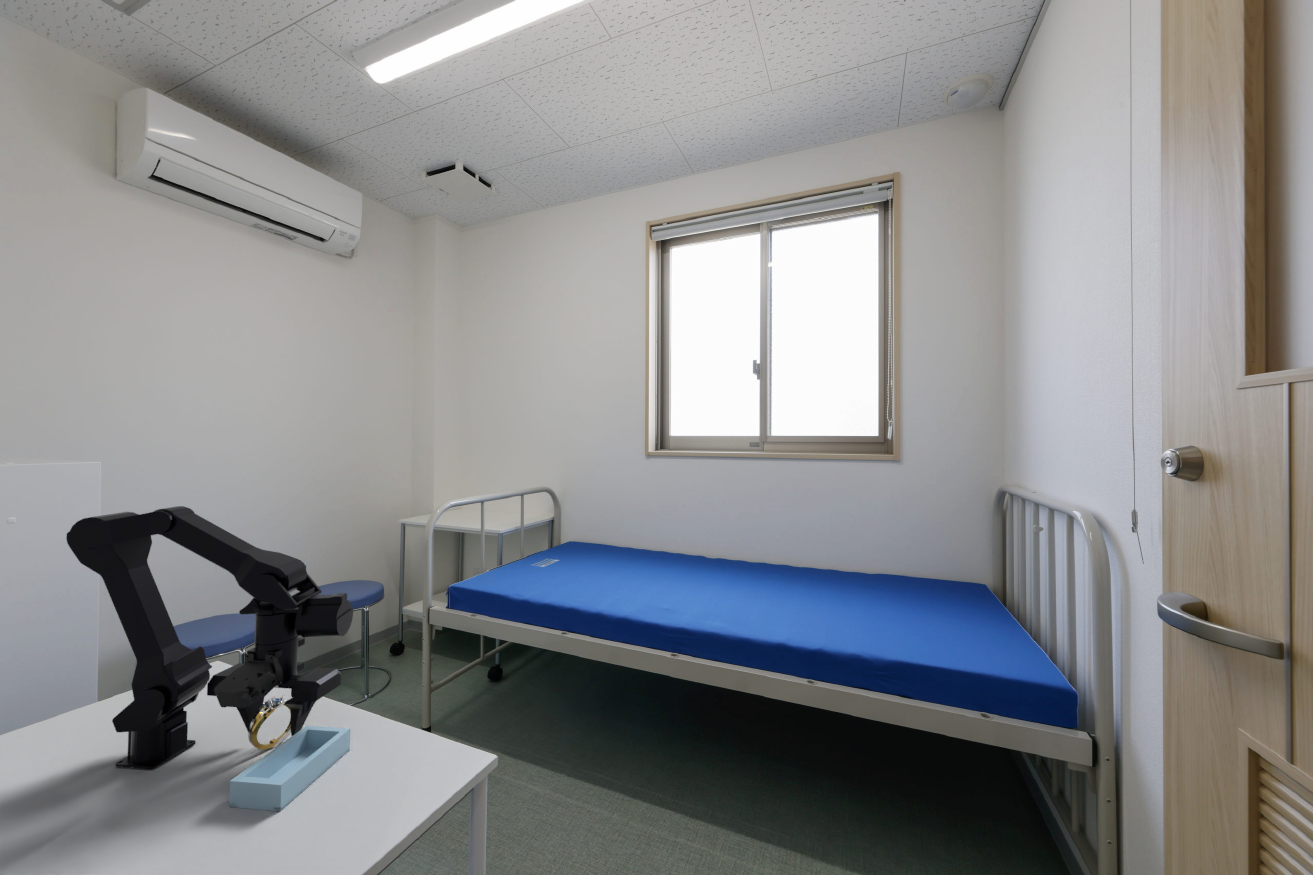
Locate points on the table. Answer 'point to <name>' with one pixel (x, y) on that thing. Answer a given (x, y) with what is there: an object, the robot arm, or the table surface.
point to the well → (289, 768)
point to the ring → (256, 723)
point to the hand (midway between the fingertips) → (274, 734)
